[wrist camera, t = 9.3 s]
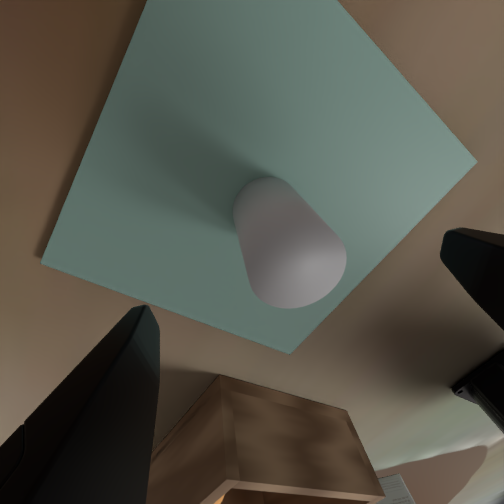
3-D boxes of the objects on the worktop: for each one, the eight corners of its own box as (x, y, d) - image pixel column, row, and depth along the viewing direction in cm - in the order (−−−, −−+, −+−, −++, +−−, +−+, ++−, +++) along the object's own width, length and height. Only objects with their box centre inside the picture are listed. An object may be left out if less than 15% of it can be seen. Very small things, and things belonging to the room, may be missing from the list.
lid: (461, 157, 14) (605, 195, 9) (286, 343, 19) (316, 433, 14) (207, -124, 8) (217, -466, 3) (50, 252, 13) (-43, 352, 8)
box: (346, 410, 24) (386, 497, 19) (261, 480, 29) (275, 566, 24) (219, 374, 19) (226, 479, 14) (139, 467, 23) (122, 572, 18)
